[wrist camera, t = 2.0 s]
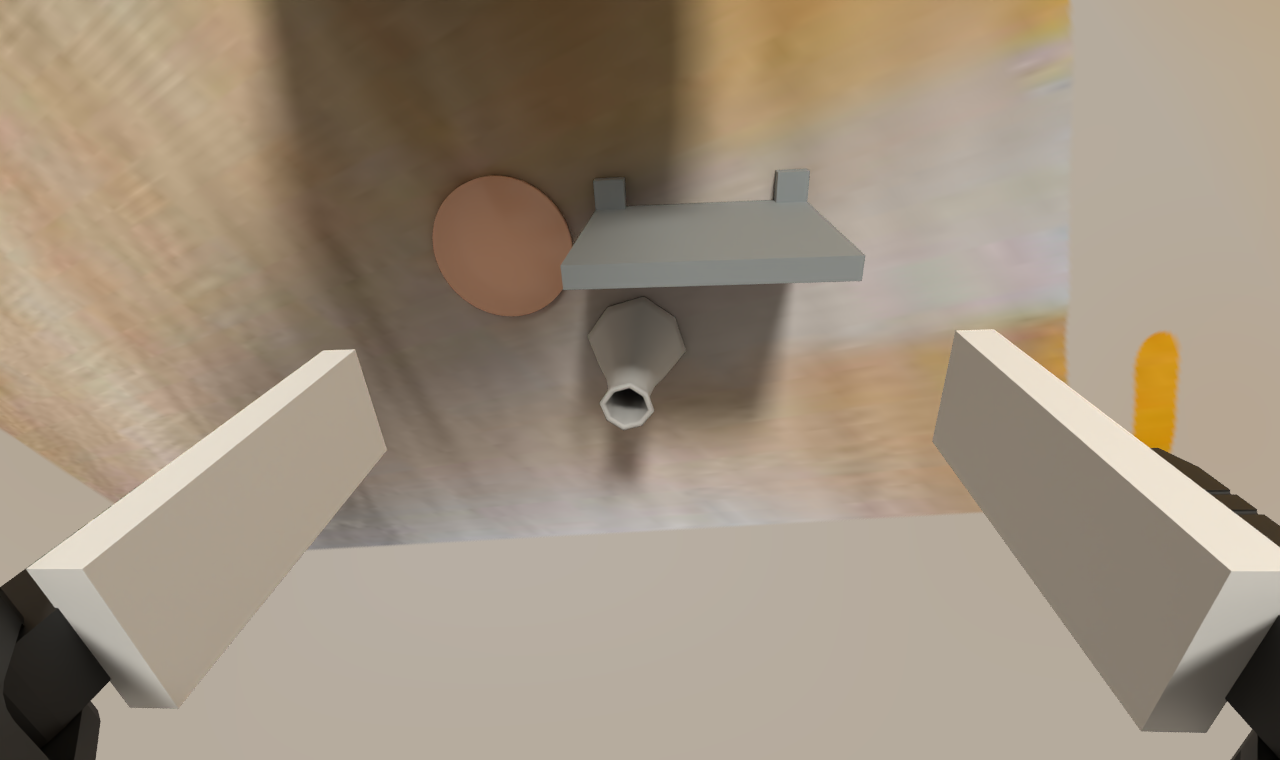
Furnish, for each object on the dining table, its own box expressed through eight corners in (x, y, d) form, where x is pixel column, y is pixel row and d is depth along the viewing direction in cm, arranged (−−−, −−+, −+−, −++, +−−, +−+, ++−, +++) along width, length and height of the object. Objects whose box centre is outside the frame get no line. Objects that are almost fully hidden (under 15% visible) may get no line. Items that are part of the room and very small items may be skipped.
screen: (595, 178, 38) (555, 225, 26) (806, 168, 37) (871, 212, 25) (601, 251, 40) (567, 326, 28) (800, 244, 39) (856, 319, 27)
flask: (628, 398, 46) (616, 473, 37) (571, 332, 44) (544, 395, 35) (702, 351, 44) (708, 420, 35) (646, 278, 41) (637, 332, 32)
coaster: (421, 178, 39) (417, 180, 38) (565, 171, 38) (563, 173, 38) (451, 315, 43) (448, 318, 43) (580, 311, 43) (578, 314, 42)
